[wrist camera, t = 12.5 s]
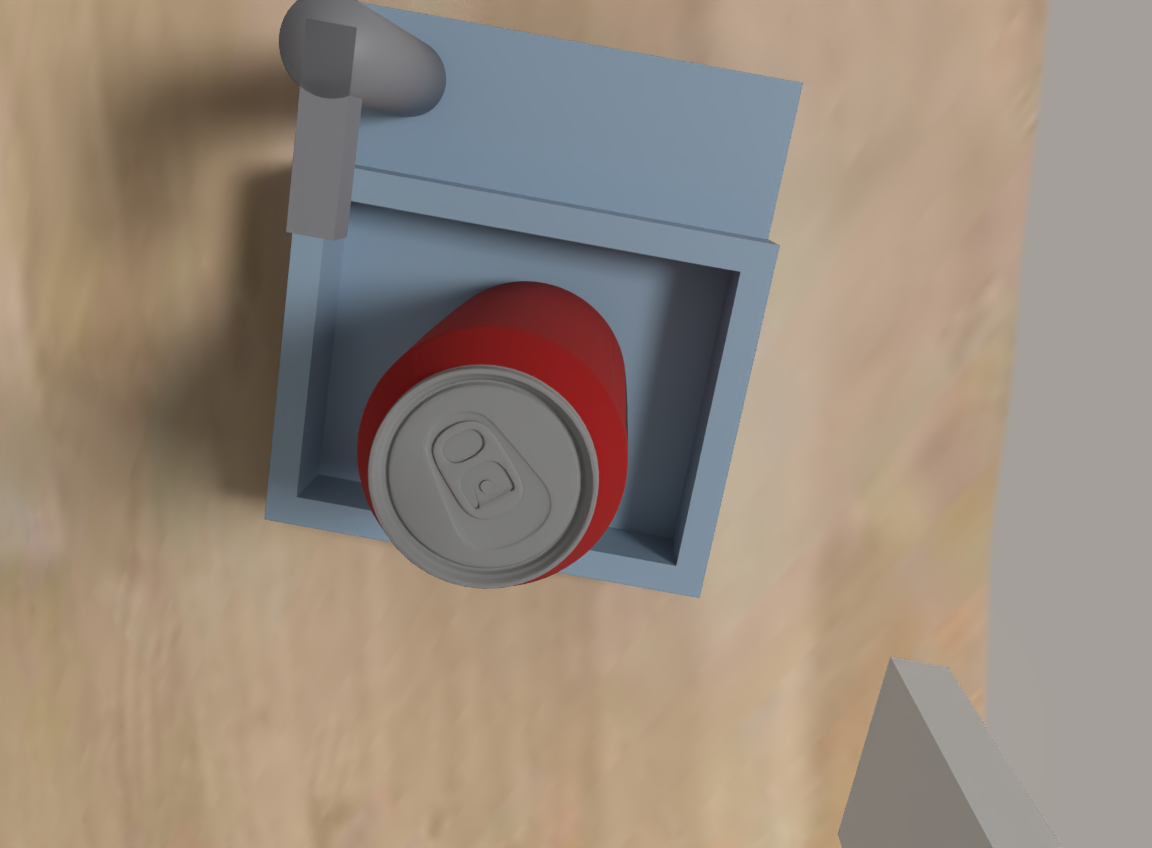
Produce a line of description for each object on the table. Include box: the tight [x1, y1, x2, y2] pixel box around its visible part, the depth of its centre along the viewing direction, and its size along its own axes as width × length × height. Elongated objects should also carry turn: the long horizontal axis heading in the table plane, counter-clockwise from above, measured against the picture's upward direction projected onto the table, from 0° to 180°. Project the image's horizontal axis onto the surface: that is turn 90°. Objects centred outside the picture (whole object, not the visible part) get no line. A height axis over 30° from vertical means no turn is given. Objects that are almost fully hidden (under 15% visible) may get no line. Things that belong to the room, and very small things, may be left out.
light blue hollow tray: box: [265, 0, 803, 598], centre depth 30 cm, size 18×15×10 cm
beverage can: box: [357, 281, 628, 589], centre depth 28 cm, size 7×7×12 cm
